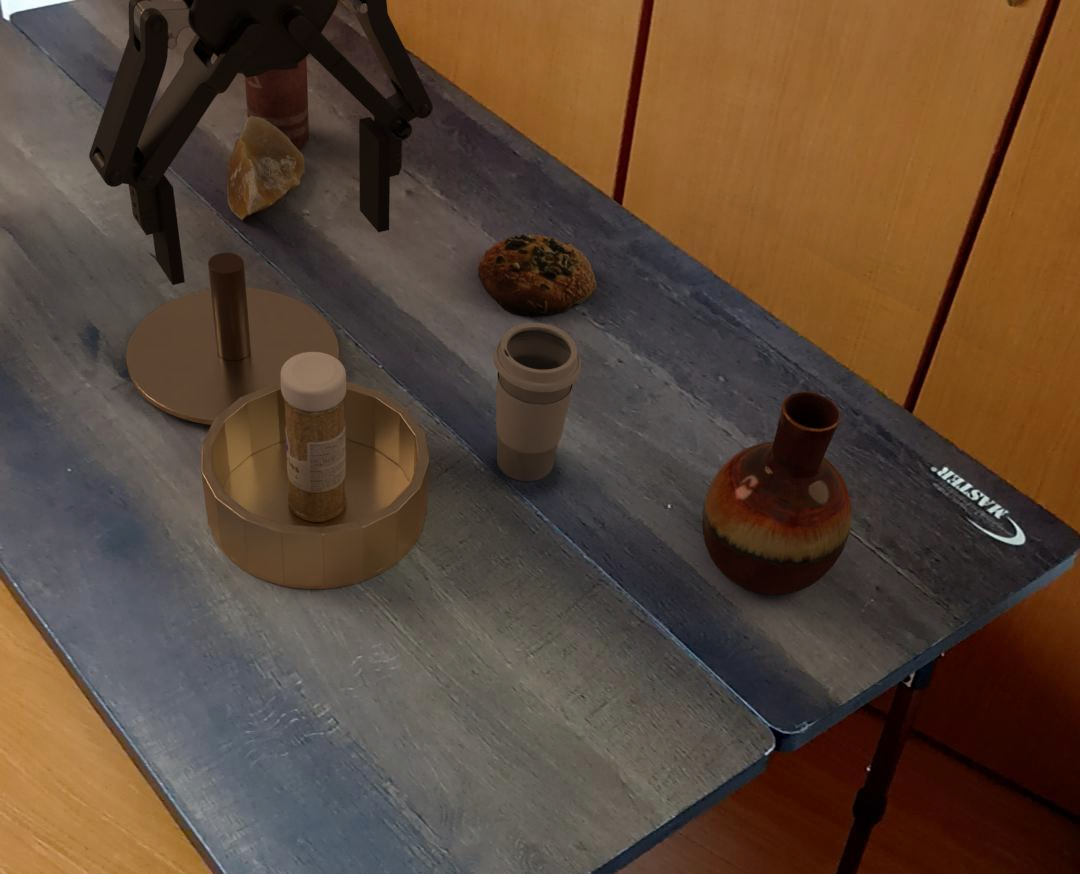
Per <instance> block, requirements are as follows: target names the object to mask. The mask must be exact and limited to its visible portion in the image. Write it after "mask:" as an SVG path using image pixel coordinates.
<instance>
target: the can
mask: <svg viewBox="0 0 1080 874" xmlns="http://www.w3.org/2000/svg"><path fill="white" fill-rule="evenodd" d="M307 58H308V56H307V57H306V58H305V59H304V60H302V61H301V62H299V63H298V68H295V69H289V70H276V69H272V70H269V71H267V72H265V73H263V74H261V75H258V76H253V77H248V78H246V77H245V76H244V83H245V84H244V85H245V99H246V113H247V119H248V118H249V117H250V116H254V117H260V118H263V119H265V120H266V121H268V122H270V123H271V124H272V125H274V126H276V127H277V128H278V129H279V130H280V131H282V132H283V133H284V134H285V135H286V136H287V137H288V138H289V139H290V141H291V142H292V144H293V145H294V146H295V147H296V148H297V149H298V150H299V151H301V150H302V149H303V148H304V147H305V146H306V144H307V143H308V142H309V139H310V124H309V123H310V121H309V120H310V119H309V91H308V88H309V87H308V64H307V63H308V59H307Z"/></svg>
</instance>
